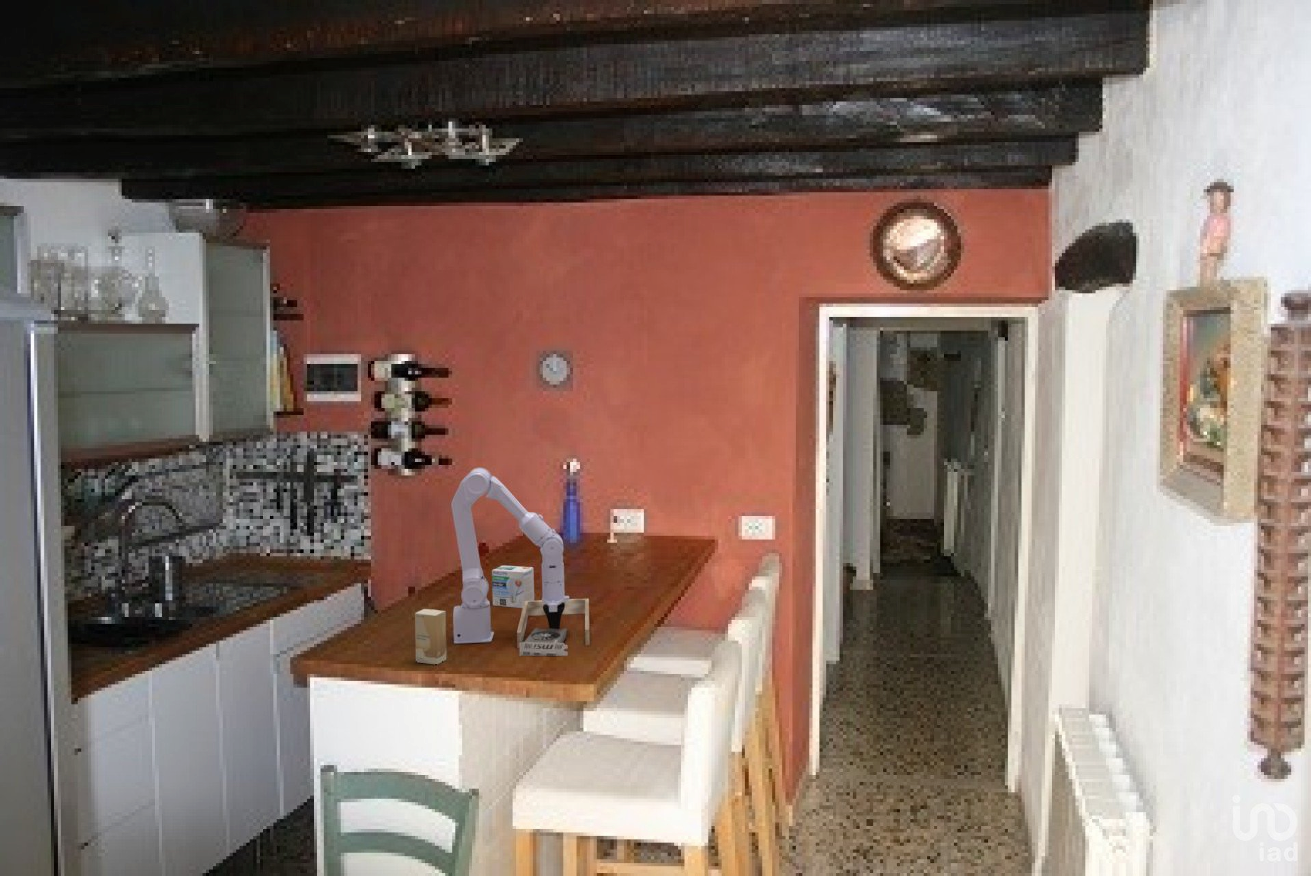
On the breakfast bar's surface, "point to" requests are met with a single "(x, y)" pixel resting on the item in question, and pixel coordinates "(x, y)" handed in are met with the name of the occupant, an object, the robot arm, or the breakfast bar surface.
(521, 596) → the light bulb box
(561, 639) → the graphics card
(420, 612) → the skincare box
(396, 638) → the breakfast bar surface
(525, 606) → the wooden frame
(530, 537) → the robot arm
